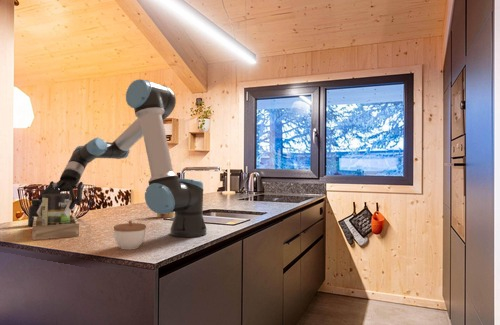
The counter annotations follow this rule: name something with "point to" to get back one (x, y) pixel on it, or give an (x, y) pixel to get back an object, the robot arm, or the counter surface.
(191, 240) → the counter surface
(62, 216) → the coffee can
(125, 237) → the lidded jar
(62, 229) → the caddy
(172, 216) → the candy box
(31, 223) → the supplement bottle
